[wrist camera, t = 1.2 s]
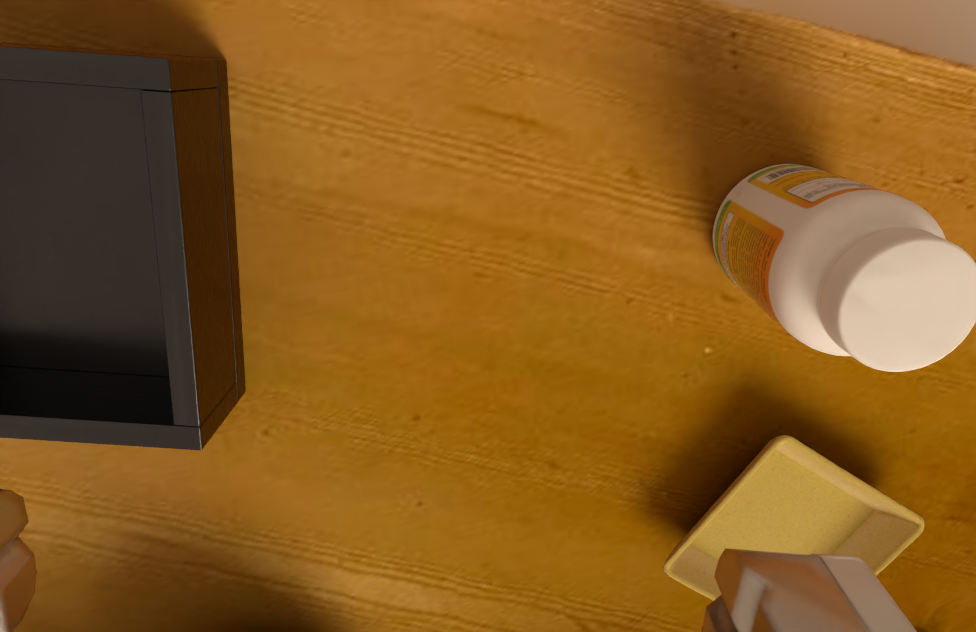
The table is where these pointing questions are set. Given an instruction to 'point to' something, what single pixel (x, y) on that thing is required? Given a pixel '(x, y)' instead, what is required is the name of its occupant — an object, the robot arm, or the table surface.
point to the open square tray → (117, 248)
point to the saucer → (794, 516)
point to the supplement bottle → (846, 266)
